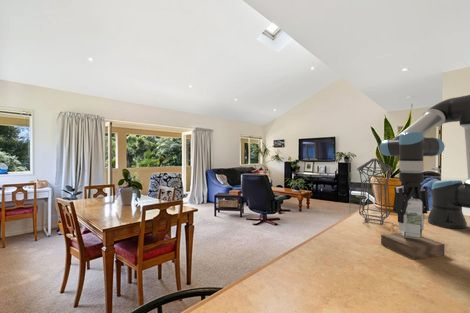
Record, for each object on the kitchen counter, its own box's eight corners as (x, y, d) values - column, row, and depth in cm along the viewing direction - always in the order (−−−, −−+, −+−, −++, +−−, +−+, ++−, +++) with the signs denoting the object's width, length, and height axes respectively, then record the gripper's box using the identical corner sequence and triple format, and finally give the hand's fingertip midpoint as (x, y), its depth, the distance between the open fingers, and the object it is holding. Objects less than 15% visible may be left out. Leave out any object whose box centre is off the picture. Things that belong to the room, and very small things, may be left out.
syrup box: (417, 234, 92) (417, 197, 92) (422, 239, 87) (422, 200, 86) (400, 232, 94) (400, 196, 94) (403, 237, 89) (403, 199, 89)
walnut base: (408, 241, 99) (408, 231, 99) (444, 255, 85) (444, 244, 85) (381, 244, 96) (381, 234, 96) (414, 259, 82) (414, 248, 82)
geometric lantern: (392, 221, 128) (393, 158, 127) (388, 228, 116) (389, 159, 115) (361, 215, 138) (361, 157, 137) (354, 222, 127) (355, 158, 125)
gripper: (421, 170, 96) (421, 225, 97) (381, 171, 91) (381, 229, 92) (441, 171, 89) (441, 230, 89) (398, 173, 84) (398, 235, 84)
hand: (411, 230), depth 90 cm, fingers closed on syrup box, 8 cm apart
